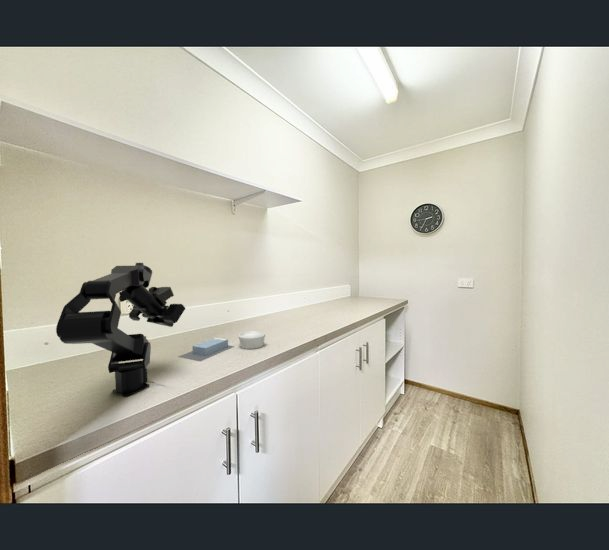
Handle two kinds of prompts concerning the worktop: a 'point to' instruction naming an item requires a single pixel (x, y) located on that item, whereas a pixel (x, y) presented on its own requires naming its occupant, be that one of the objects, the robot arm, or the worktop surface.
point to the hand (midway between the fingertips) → (172, 325)
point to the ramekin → (251, 339)
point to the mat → (201, 357)
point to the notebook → (210, 346)
